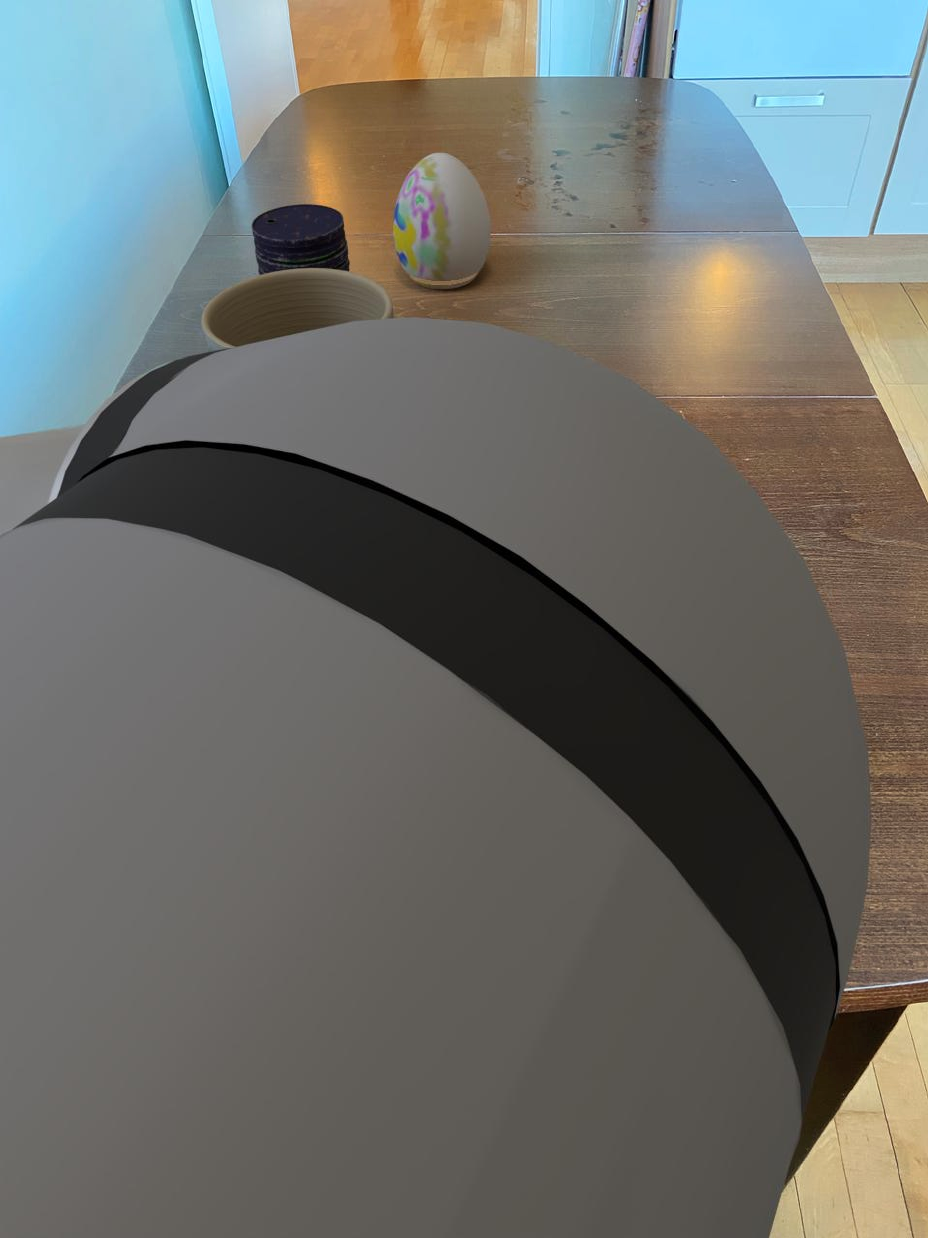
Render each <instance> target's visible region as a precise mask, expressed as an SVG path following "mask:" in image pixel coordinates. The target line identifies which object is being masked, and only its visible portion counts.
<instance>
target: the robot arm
mask: <svg viewBox="0 0 928 1238" xmlns="http://www.w3.org/2000/svg"><path fill="white" fill-rule="evenodd" d="M850 671H851V670H850V668H849V664H848V659H847V655H846V651H845V647H844V645H843V643H842V640H841V639H840V636H839V634H838V632H837V630H836V627H835V625H834V623H833V621H832V618H831V616H830V614H829V612H828V609H827V607H826V605H825V603H824V601H823V598H822V596H821V594H820V592H819V590H818V588H817V585H816V583H815V580H814V578H813V576H812V574H811V572H810V570H809V567H808V565H807V563H806V561H805V558H804V557H803V555H802V554H801V553H800V551H799V550H798V548H797V547H796V545H795V544H794V543H793V542H792V540H791V538H790V537H789V536H788V534H787V533H786V531H785V530H784V528H783V527H782V526H781V524H780V523H779V521H778V520H777V519H776V517H775V516H774V514H773V513H772V512H771V511H770V509H769V508H768V506H767V504H766V503H765V502H764V500H763V499H762V498H761V496H760V495H759V493H758V492H757V490H755V489H754V488H753V486H752V485H751V483H750V482H748V480H747V479H746V478H745V477H744V475H742V474H741V472H740V471H739V470H738V468H736V466H735V465H734V464H733V462H731V461H730V460H729V458H728V457H727V456H725V454H724V453H723V452H722V451H721V450H720V449H719V448H718V447H717V445H715V443H714V442H713V441H712V440H711V439H710V438H709V437H708V436H707V435H706V434H705V433H704V432H702V430H700V429H699V428H698V427H696V426H695V425H693V424H692V423H691V422H689V421H688V420H687V419H685V418H684V417H683V416H682V415H681V414H680V413H678V412H676V411H675V410H674V409H672V408H671V407H670V406H669V405H667V404H666V403H664V402H663V401H662V400H661V399H659V398H658V397H656V396H655V395H653V394H652V393H650V392H649V391H648V390H647V389H645V388H644V387H642V386H641V385H640V384H638V383H637V382H636V381H634V380H633V379H631V378H630V377H627V376H625V375H623V374H621V373H619V372H617V371H615V370H612V369H611V368H608V367H606V366H604V365H602V364H600V363H598V362H596V361H594V360H591V359H589V358H588V357H585V356H583V355H582V354H578V353H576V352H574V351H572V350H570V349H568V348H565V347H564V346H562V345H559V344H557V343H555V342H553V341H551V340H546V339H544V338H541V337H536V336H533V335H529V334H526V333H522V332H519V331H516V330H512V329H509V328H504V327H501V326H498V325H495V324H492V323H487V322H483V321H471V320H458V319H443V318H430V317H418V316H417V317H416V316H409V317H408V316H407V317H406V316H405V317H394V318H392V319H377V320H363V321H353V322H348V323H344V324H339V325H334V326H330V327H325V328H320V329H315V330H311V331H306V332H302V333H297V334H293V335H288V336H283V337H279V338H274V339H270V340H265V341H261V342H256V343H252V344H247V345H243V346H239V347H233V348H226V349H222V350H217V351H212V352H208V351H206V352H203V353H198V354H191V355H188V356H185V357H181V358H179V359H175V360H172V361H168V362H166V363H163V364H159V365H157V366H156V367H153V368H151V369H150V370H147V371H146V372H144V373H142V374H140V375H138V376H136V377H135V378H132V379H131V380H130V381H128V383H126V384H125V385H124V386H122V387H121V388H119V389H118V390H117V391H116V392H114V393H113V394H112V395H110V397H108V398H107V399H106V400H105V401H104V402H103V403H102V404H101V405H100V406H99V407H98V409H96V411H95V412H94V413H93V414H92V415H91V416H90V417H89V419H88V420H87V421H86V422H85V423H84V424H78V425H72V426H71V425H70V426H65V427H57V428H52V429H46V430H45V429H44V430H39V431H33V432H27V433H19V434H14V435H13V434H11V435H7V436H0V1238H770V1236H771V1233H772V1230H773V1225H774V1222H775V1219H776V1214H777V1212H778V1207H779V1204H780V1201H781V1197H782V1193H783V1190H784V1186H785V1184H786V1179H787V1176H788V1172H789V1168H790V1165H791V1162H792V1159H793V1157H794V1154H795V1152H796V1149H797V1147H798V1144H799V1142H800V1139H801V1131H802V1123H803V1119H804V1114H805V1112H806V1108H807V1105H808V1101H809V1098H810V1094H811V1090H812V1089H813V1084H814V1081H815V1078H816V1075H817V1071H818V1068H819V1065H820V1061H821V1058H822V1055H823V1050H824V1047H825V1044H826V1040H827V1037H828V1034H829V1032H830V1031H831V1028H832V1026H833V1024H834V1023H835V1020H836V1017H837V1014H838V1010H839V1007H840V1004H841V1001H842V998H843V996H844V992H845V988H846V985H847V982H848V979H849V975H850V971H851V967H852V962H853V957H854V953H855V948H856V944H857V939H858V935H859V931H860V926H861V921H862V916H863V912H864V906H865V901H866V896H867V891H868V890H867V889H868V884H869V869H870V867H869V866H870V852H871V851H870V850H871V836H872V834H871V833H872V821H873V820H872V798H871V796H872V795H871V776H870V775H871V774H870V773H871V772H870V752H869V749H868V744H867V739H866V734H865V732H864V727H863V723H862V718H861V715H860V710H859V706H858V702H857V697H856V692H855V688H854V685H853V681H852V676H851V672H850Z"/></svg>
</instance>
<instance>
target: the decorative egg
mask: <svg viewBox="0 0 928 1238" xmlns="http://www.w3.org/2000/svg"><path fill="white" fill-rule="evenodd" d="M393 213H394V214H393V221H392V222H393V223H392V231H393V232H392V233H393V242H394V247H395V251H396V255H397V257H398V260H399V262H400V263H401V266H402V269H404V271H405V273H406V274H407V273H409V274H411V275H412V276H414V277H417V278H421V279H424V280H425V279H426V280H431V281H451V280H459V279H463V278H466V277H469V276H471V275H473V274H475V273H477V272H478V271H479V270H480V269H481V268H482V269H483V267H484V264H485V262H486V260H487V257H488V254H489V251H490V246H491V236H492V235H491V234H492V233H491V232H492V231H491V230H492V229H491V228H492V227H491V226H492V225H491V217H490V212H489V207H488V203H487V201H486V197H485V195H484V192H483V189H482V188H481V186H480V184H479V182H478V180H477V179H476V177H475V176H474V175H473V173H472V171H470V169H469V168H468V167H467V166H466V165H465V164H464V163H463V162H462V161H461V160H460V159H459V158H457V157H455V156H453V155H451V154H448V153H446V152H434V153H430V154H429V155H426V156H425V157H423V158H422V159H420V160H419V161H418V162H417V163H416V164H415V165H414V167H413V168H412V169H411V170H410V171H409V173H408V174H407V176H406V177H405V180H404V181H403V183H402V185H401V188H400V190H399V192H398V195H397V198H396V202H395V206H394V211H393ZM482 269H481V270H482ZM481 270H480V271H481ZM478 275H479V273H478V274H477V275H476V276H475V277H474V278H472V279H470V280H468V281H465V282H462V283H457V284H452V285H431V284H425V283H421V282H418V281H416V280H414V279H412V278H411V277H410V279H411V280H412V281H413V282H414V283H416V284H417V285H419V286H421V287H423V288H427V289H431V290H451V289H458V288H461V287H463V286H466V285H468V284H470V283H471V282H472V281H474V280H475V279H476V277H477V276H478Z"/></svg>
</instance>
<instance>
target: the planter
mask: <svg viewBox="0 0 928 1238" xmlns="http://www.w3.org/2000/svg"><path fill="white" fill-rule="evenodd" d="M392 318H395V316H394V306H393V299H392V297H391V295H390V293H389V291H388V290H387V289H386V288H385V287H384V286H383V285H381V284H380V283H379V282H378V281H376V280H374V279H372V278H369V277H367V276H365V275H362V274H359V273H356V272H352V271H349V272H348V271H343V270H336V269H326V268H301V269H290V270H282V271H276V272H271V273H267V274H263V275H260V274H259V275H255V276H252V277H248V278H246V279H243V280H241V281H239V282H236V283H235V284H232V285H230V286H229V287H227V288H225V289H224V290H222V291H221V292H219V293H218V294H217V295H215V296H214V297H213V298H212V299H211V300H209V302H208V303H207V305H205V307H204V309H203V311H202V314H201V328H202V333H203V337H204V341H205V345H206V349H207V352H212V351H217V350H222V349H226V348H233V347H239V346H243V345H247V344H252V343H256V342H261V341H265V340H270V339H274V338H279V337H283V336H288V335H293V334H297V333H302V332H306V331H311V330H315V329H320V328H325V327H330V326H334V325H339V324H344V323H348V322H353V321H363V320H377V319H392Z"/></svg>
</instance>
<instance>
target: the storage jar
mask: <svg viewBox="0 0 928 1238" xmlns="http://www.w3.org/2000/svg"><path fill="white" fill-rule="evenodd" d="M251 233H252V236H253V243H254V254H255V259H256V260H255V261H256V263H257V265H258V266H257V267H258V268H257V272H258V274H259V275H263V274H267V273H271V272H276V271H282V270H290V269H301V268H326V269H336V270H343V271H348V272H350V264H351V261H350V259H349V245H348V240H347V239H346V238H347V237H346V231H345V221H344V215H343V213H341V212H340V211H339V210H337V209H335V208H334V207H330V206H327V205H322V204H313V203H312V204H311V203H301V204H300V203H299V204H291V205H284V206H280V207H276V208H272V209H269V210H266V211H264V212H262V213H260V214H259V215H257V216H256V217H255V218H254V219H253V220H252V222H251Z"/></svg>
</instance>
